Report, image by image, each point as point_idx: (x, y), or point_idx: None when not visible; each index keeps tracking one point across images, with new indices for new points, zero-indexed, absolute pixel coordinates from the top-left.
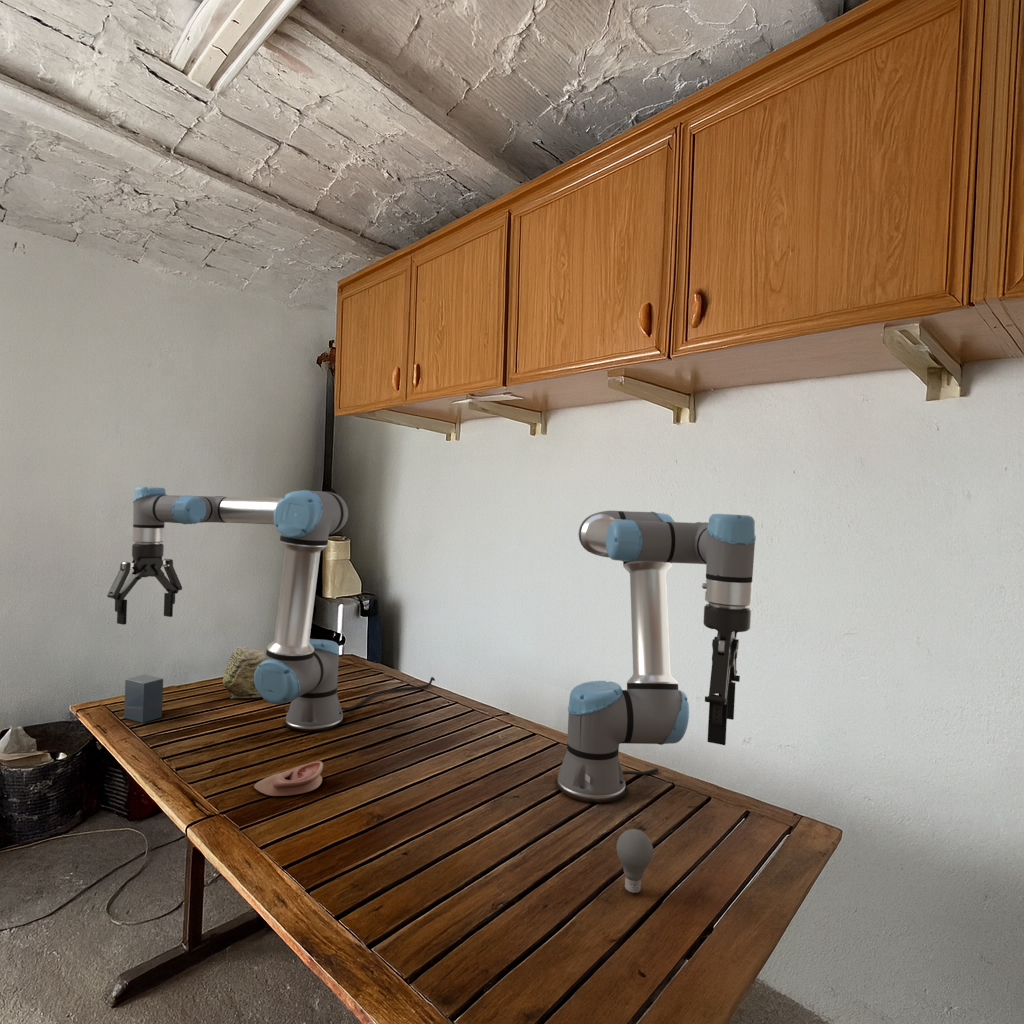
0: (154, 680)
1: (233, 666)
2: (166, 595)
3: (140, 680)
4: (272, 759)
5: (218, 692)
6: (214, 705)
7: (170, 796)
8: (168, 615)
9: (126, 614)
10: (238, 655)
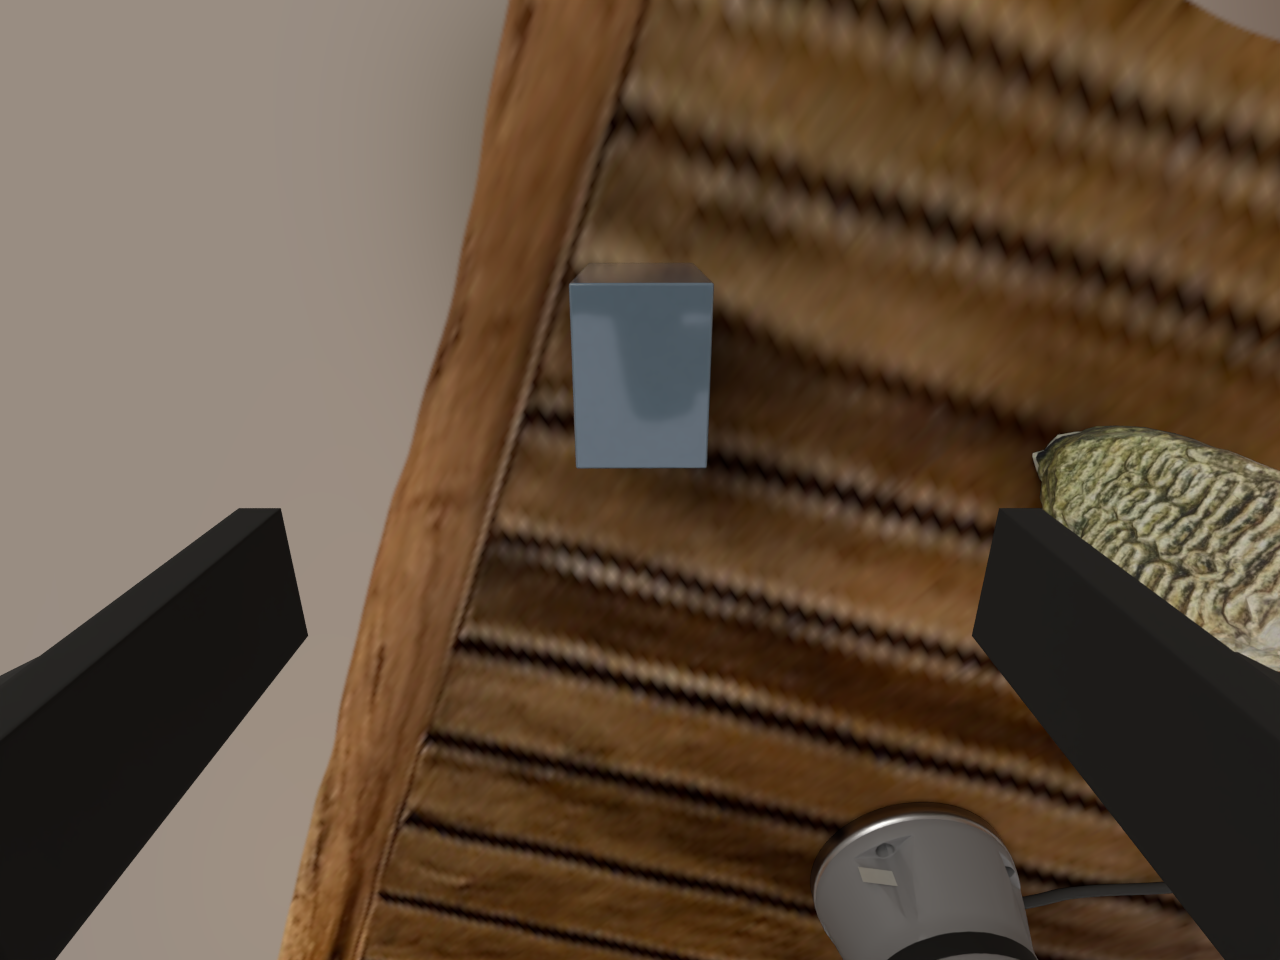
0: (651, 461)
1: (1134, 555)
2: (1272, 820)
3: (603, 395)
4: (606, 944)
5: (1112, 311)
6: (922, 464)
7: (310, 911)
8: (987, 613)
9: (230, 733)
10: (1227, 585)
